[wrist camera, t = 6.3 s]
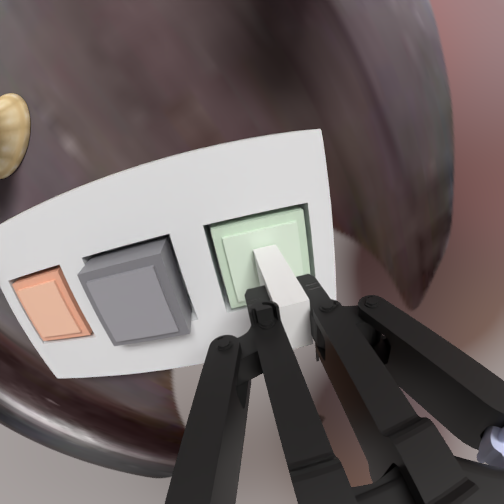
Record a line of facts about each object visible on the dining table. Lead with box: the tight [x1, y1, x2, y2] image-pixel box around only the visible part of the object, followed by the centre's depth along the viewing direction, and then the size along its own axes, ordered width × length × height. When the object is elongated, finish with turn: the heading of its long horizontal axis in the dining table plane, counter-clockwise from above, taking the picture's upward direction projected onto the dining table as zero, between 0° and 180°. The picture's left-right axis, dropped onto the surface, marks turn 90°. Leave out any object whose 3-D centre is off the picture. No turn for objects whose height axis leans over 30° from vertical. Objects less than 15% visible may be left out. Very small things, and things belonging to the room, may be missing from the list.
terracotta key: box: [12, 264, 93, 341], centre depth 18 cm, size 6×6×3 cm
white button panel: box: [0, 129, 336, 378], centre depth 20 cm, size 28×16×5 cm, turn 101°
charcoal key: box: [77, 236, 192, 346], centre depth 17 cm, size 6×6×3 cm
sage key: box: [210, 205, 310, 309], centre depth 20 cm, size 6×6×3 cm
